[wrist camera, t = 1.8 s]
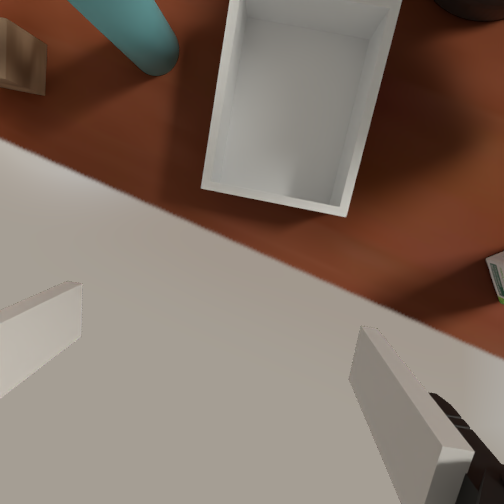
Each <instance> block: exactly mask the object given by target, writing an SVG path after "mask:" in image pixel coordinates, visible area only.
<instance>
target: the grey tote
mask: <svg viewBox="0 0 504 504" xmlns="http://www.w3.org/2000/svg"><path fill="white" fill-rule="evenodd" d="M401 3H402V0H230V2H229V8H228V15H227V21H226V28H225V34H224V41H223V47H222V54H221V60H220V67H219V73H218V80H217V86H216V93H215V99H214V106H213V112H212V119H211V125H210V132H209V138H208V145H207V151H206V158H205V164H204V171H203V177H202V184H201V189H206V190H211V191H216V192H221V193H226V194H231V195H236V196H241V197H246V198H251V199H256V200H261V201H266V202H271V203H276V204H281V205H287V206H292V207H297V208H302V209H307V210H312V211H317V212H322V213H327V214H332V215H337V216H342V217H346V216H347V212H348V208H349V204H350V200H351V197H352V193H353V189H354V185H355V181H356V177H357V173H358V169H359V166H360V162H361V158H362V154H363V150H364V146H365V142H366V138H367V135H368V131H369V127H370V123H371V119H372V115H373V111H374V107H375V104H376V100H377V96H378V92H379V88H380V84H381V80H382V76H383V73H384V69H385V65H386V61H387V57H388V53H389V49H390V45H391V42H392V38H393V34H394V30H395V26H396V22H397V18H398V14H399V11H400V7H401Z"/></svg>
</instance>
